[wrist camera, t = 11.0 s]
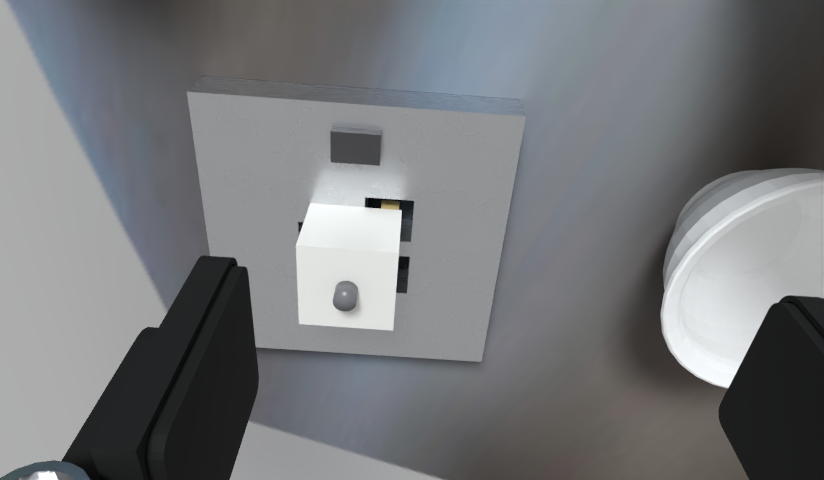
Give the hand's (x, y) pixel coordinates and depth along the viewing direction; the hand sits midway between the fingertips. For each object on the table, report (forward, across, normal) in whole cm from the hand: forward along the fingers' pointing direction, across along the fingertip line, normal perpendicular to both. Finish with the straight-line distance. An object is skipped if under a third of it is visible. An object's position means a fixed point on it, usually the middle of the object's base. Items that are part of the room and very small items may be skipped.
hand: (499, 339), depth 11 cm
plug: (+27, +5, +15) cm, 31 cm away
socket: (+28, +5, +15) cm, 32 cm away
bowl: (+28, -22, +13) cm, 38 cm away
